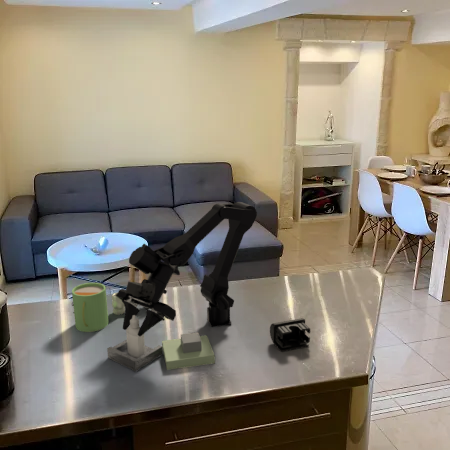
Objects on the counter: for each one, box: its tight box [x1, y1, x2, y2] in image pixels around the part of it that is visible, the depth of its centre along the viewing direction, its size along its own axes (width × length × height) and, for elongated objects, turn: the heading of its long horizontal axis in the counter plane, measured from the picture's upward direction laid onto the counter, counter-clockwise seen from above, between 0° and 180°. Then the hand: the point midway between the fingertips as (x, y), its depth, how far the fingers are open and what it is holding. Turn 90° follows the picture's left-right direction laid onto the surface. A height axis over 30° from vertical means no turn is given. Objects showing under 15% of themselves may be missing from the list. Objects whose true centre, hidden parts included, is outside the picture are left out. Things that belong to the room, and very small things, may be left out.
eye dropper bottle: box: [125, 315, 146, 358], centre depth 135 cm, size 4×6×12 cm
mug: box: [71, 282, 109, 333], centre depth 152 cm, size 13×10×12 cm
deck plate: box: [161, 332, 216, 371], centre depth 136 cm, size 13×11×6 cm
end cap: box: [269, 317, 311, 353], centre depth 141 cm, size 10×7×7 cm
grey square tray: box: [106, 339, 164, 372], centre depth 136 cm, size 10×11×3 cm
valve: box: [111, 292, 150, 316], centre depth 162 cm, size 7×7×12 cm
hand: (131, 332), depth 133 cm, fingers open, 6 cm apart
